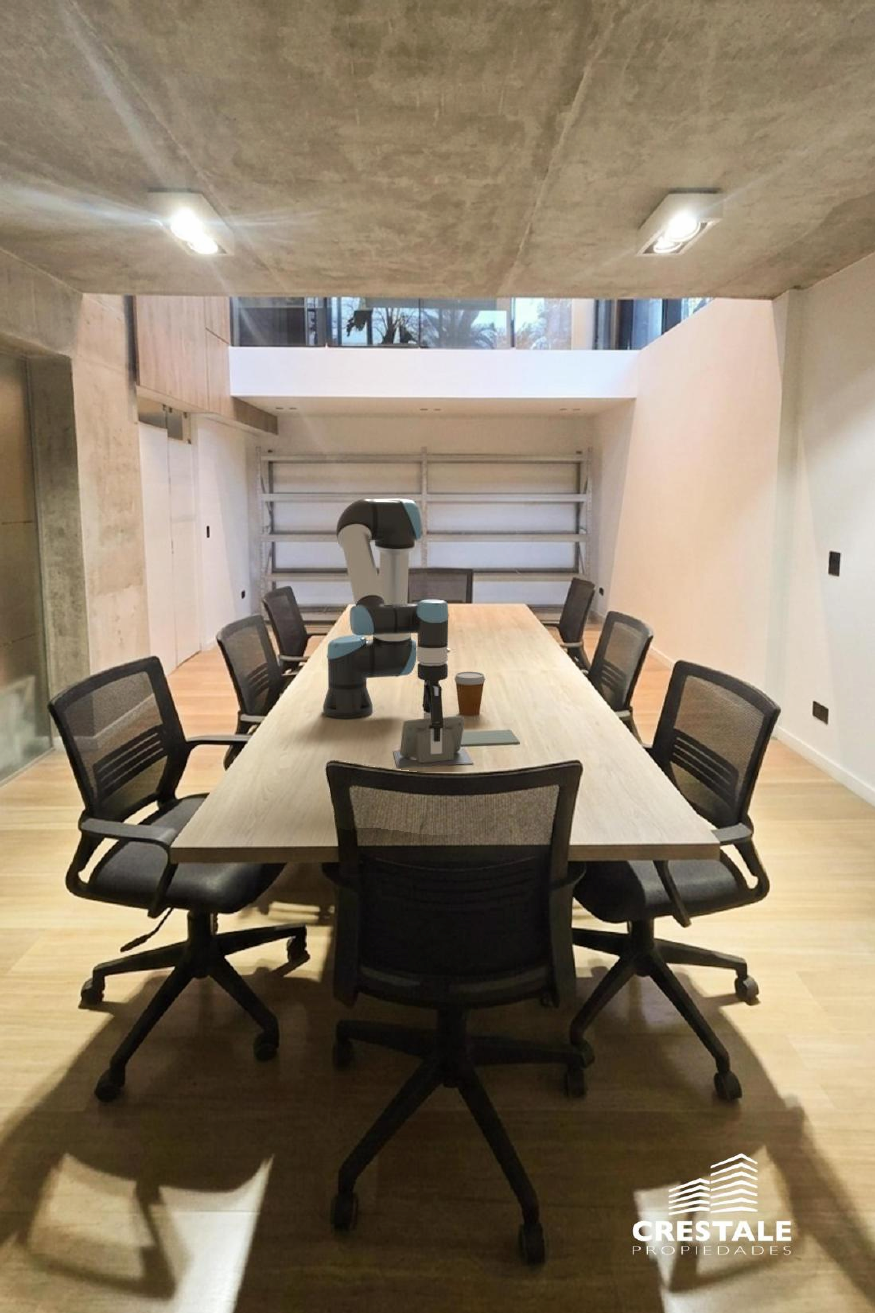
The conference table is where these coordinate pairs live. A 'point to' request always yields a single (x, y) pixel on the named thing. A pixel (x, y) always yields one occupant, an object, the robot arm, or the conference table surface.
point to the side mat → (488, 738)
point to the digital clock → (419, 739)
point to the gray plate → (459, 758)
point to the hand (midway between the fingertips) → (432, 744)
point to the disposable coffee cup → (469, 692)
